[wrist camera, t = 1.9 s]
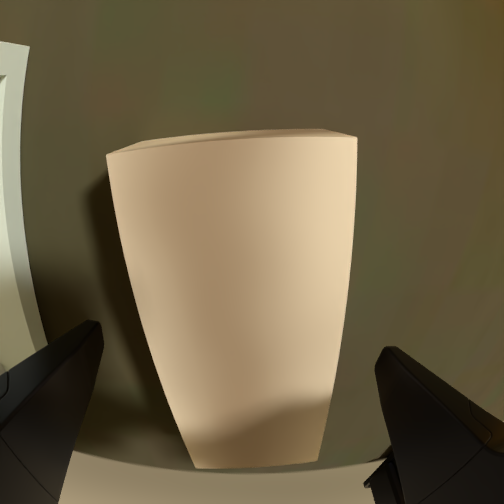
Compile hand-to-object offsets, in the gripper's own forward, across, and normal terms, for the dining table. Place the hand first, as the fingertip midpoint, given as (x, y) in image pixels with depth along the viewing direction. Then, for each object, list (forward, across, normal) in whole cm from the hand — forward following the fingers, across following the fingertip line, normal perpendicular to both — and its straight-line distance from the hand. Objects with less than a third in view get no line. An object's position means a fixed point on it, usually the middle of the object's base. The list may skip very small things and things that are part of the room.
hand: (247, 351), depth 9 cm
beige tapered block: (+2, 0, 0) cm, 2 cm away
